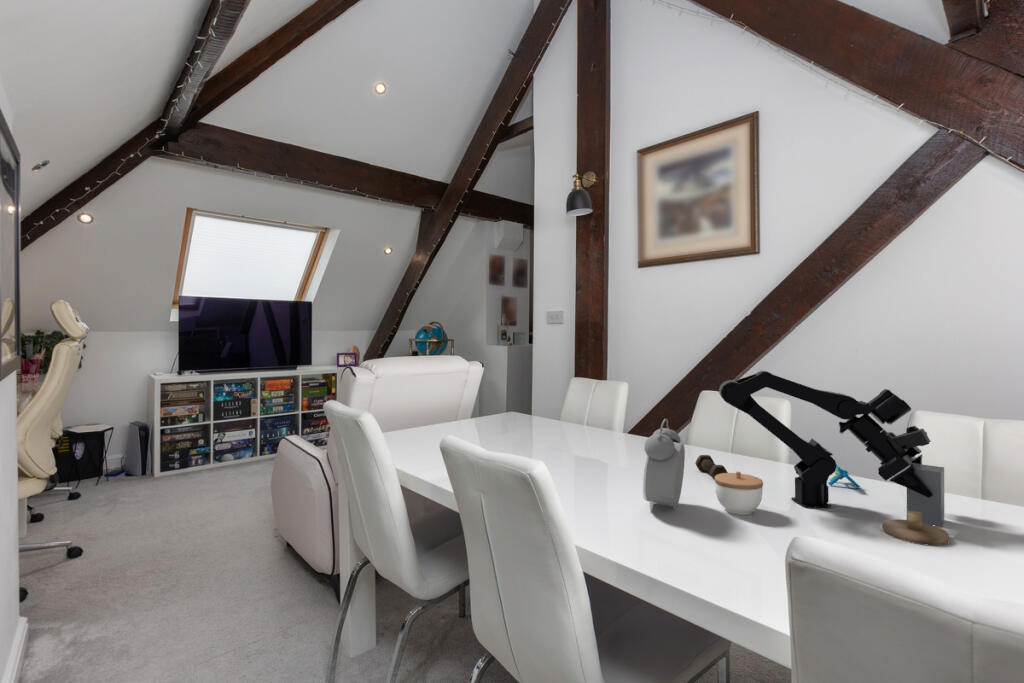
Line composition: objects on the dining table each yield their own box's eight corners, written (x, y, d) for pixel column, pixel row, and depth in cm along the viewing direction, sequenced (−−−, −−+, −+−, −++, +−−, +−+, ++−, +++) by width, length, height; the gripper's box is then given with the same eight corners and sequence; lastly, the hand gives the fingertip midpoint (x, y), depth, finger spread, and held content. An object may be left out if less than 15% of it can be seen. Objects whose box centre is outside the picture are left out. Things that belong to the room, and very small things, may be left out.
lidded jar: (725, 500, 130) (725, 464, 130) (769, 510, 122) (769, 471, 122) (707, 510, 122) (706, 472, 122) (753, 522, 115) (752, 480, 115)
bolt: (723, 490, 144) (701, 474, 159) (738, 481, 144) (715, 466, 159) (713, 473, 144) (692, 459, 159) (728, 464, 144) (706, 450, 159)
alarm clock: (653, 495, 135) (652, 413, 134) (687, 499, 131) (686, 415, 131) (640, 515, 120) (639, 423, 120) (678, 520, 116) (677, 425, 116)
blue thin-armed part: (865, 488, 134) (833, 458, 138) (846, 502, 135) (815, 471, 139) (859, 483, 143) (829, 455, 147) (842, 496, 145) (813, 468, 149)
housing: (906, 520, 115) (906, 467, 115) (911, 513, 119) (910, 462, 119) (941, 527, 110) (941, 472, 110) (944, 520, 115) (944, 467, 115)
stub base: (909, 545, 101) (909, 522, 101) (870, 525, 112) (869, 504, 112) (963, 544, 101) (963, 521, 101) (919, 524, 112) (919, 503, 112)
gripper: (896, 420, 111) (963, 480, 103) (909, 411, 124) (970, 463, 116) (853, 451, 116) (914, 510, 109) (871, 439, 130) (926, 490, 122)
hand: (933, 492), depth 114 cm, fingers open, 7 cm apart
